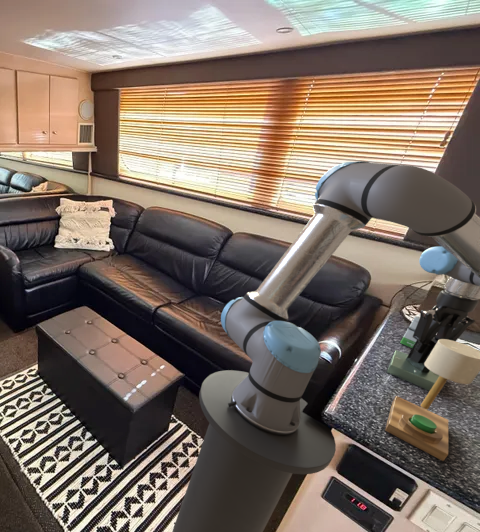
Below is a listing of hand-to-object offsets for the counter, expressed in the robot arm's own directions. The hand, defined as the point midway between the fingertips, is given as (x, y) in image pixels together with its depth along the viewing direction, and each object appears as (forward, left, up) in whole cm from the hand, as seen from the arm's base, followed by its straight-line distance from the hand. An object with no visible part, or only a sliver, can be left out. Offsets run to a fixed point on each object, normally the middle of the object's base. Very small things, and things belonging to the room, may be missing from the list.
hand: (419, 361), depth 99 cm
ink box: (+12, +24, -5) cm, 27 cm away
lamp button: (-16, -33, -1) cm, 37 cm away
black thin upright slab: (0, 0, -2) cm, 2 cm away
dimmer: (0, 0, -5) cm, 5 cm away
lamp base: (-14, -29, -5) cm, 33 cm away
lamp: (-12, -25, -1) cm, 27 cm away
